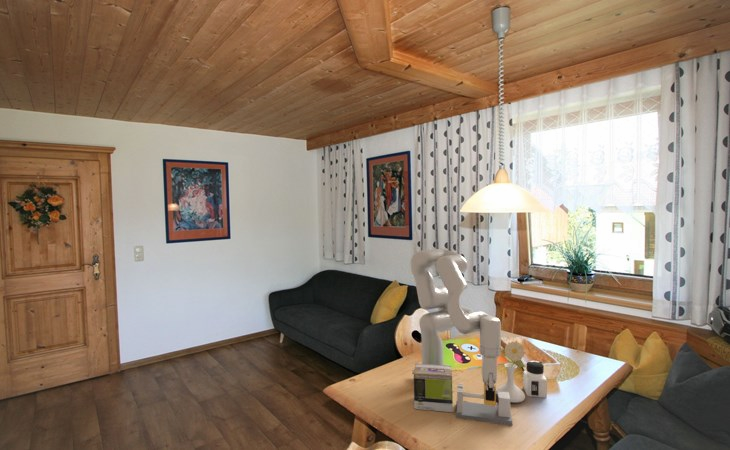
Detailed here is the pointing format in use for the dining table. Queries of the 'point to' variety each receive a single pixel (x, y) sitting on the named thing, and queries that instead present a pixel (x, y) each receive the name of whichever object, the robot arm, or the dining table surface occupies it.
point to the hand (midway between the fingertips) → (489, 396)
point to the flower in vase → (513, 353)
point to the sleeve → (486, 402)
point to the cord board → (483, 408)
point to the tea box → (433, 387)
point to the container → (535, 380)
